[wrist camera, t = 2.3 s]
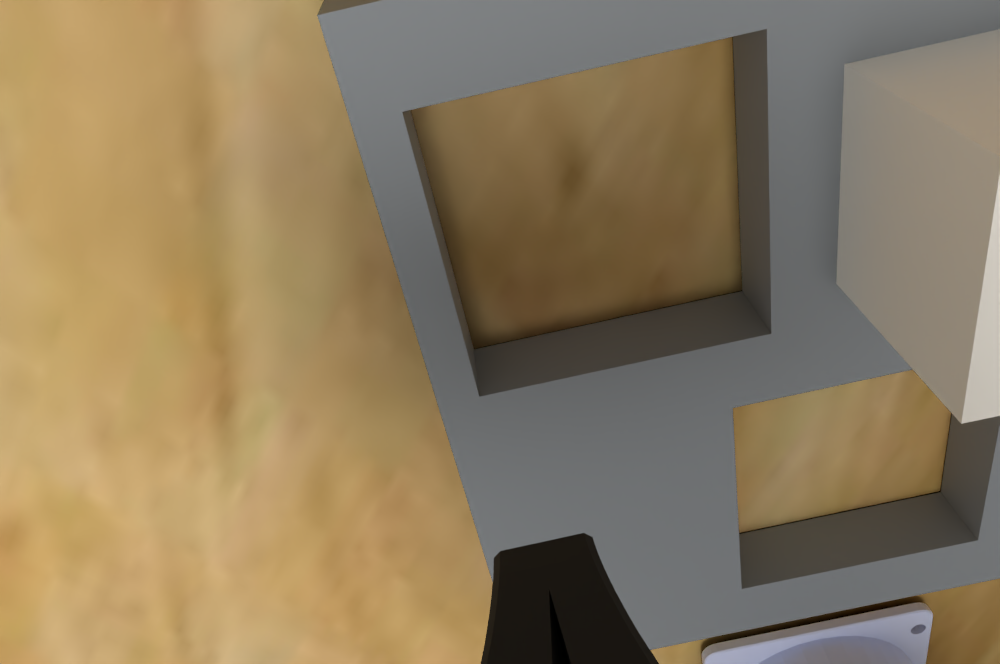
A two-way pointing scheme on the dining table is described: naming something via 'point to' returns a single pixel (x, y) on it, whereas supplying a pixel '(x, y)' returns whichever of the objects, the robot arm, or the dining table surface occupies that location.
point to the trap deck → (669, 315)
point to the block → (927, 212)
